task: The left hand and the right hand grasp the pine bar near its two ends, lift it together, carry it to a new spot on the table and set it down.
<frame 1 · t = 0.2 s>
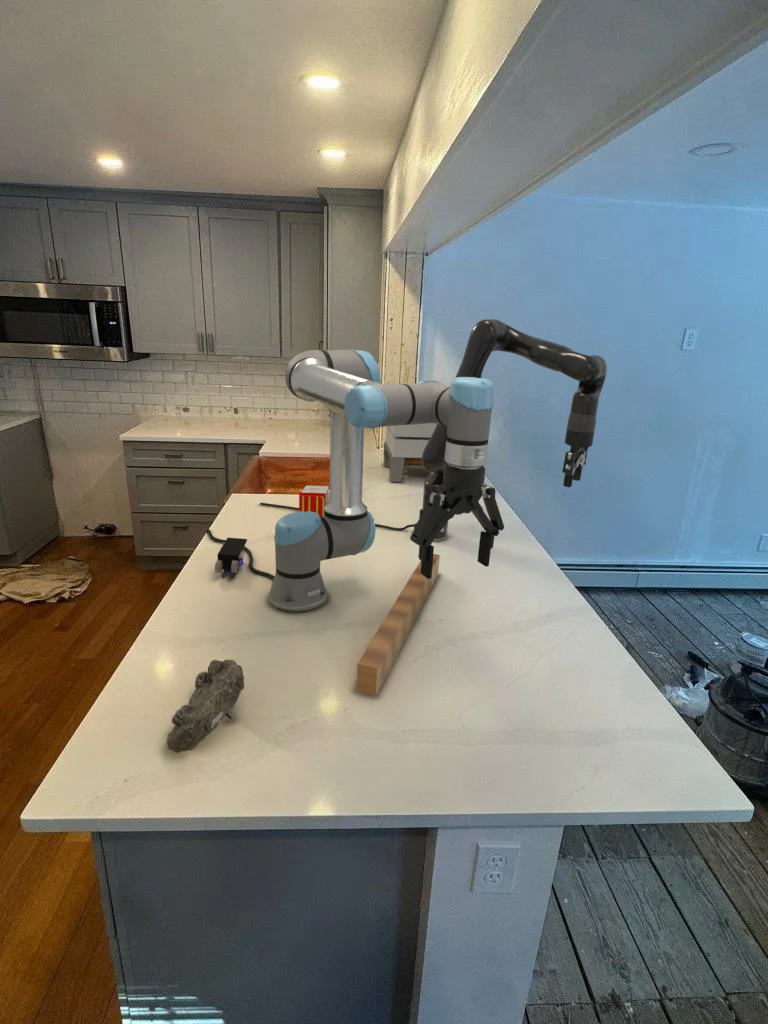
left hand: (455, 569, 111), 27 cm above the counter, tool pointing down, fingers open, 13 cm apart
right hand: (571, 483, 166), 29 cm above the counter, tool pointing down, fingers open, 8 cm apart
fossil: (212, 717, 108), on the counter
figurine: (454, 505, 232), on the counter
grey crate stand: (419, 473, 275), on the counter
bar: (404, 622, 144), on the counter
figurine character: (232, 569, 168), on the counter
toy: (315, 517, 211), on the counter
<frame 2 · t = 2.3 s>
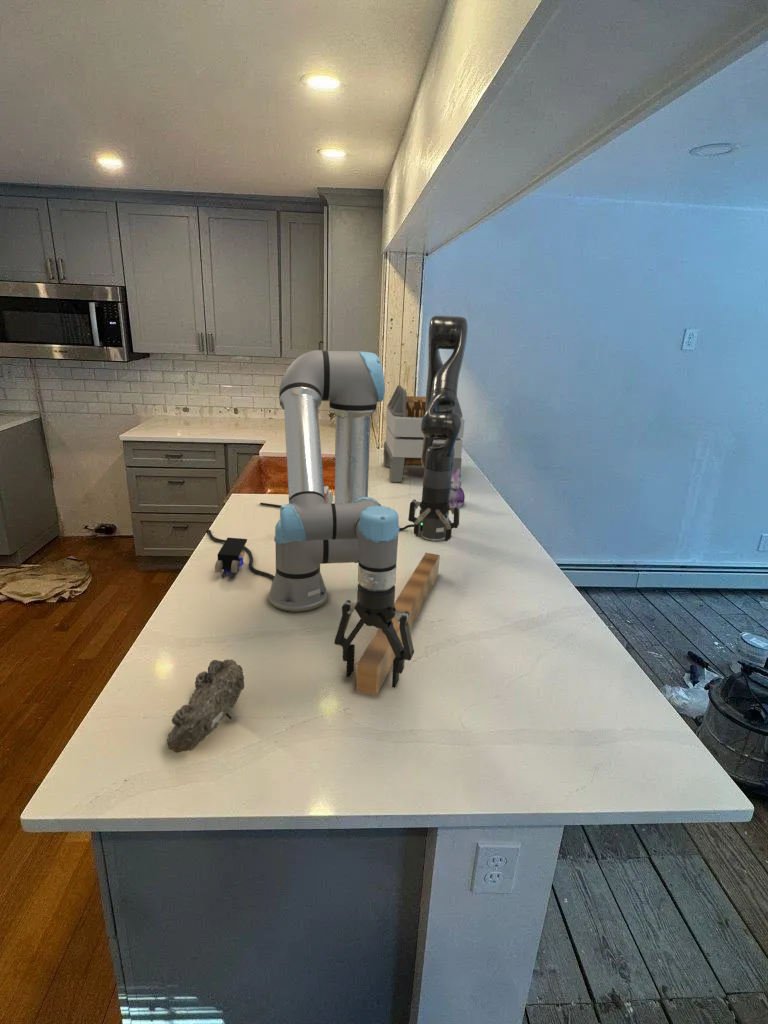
left hand: (372, 678, 120), 1 cm above the counter, tool pointing down, fingers open, 9 cm apart
right hand: (432, 538, 162), 13 cm above the counter, tool pointing down, fingers open, 8 cm apart
nothing on the counter moved.
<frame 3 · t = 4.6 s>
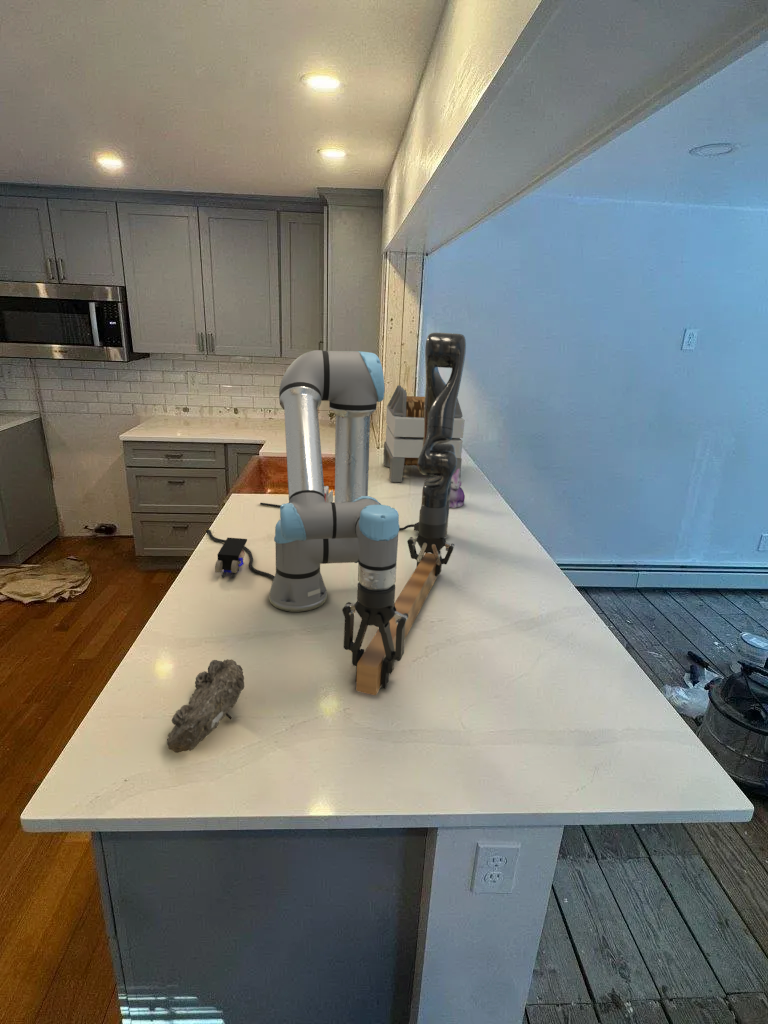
left hand: (372, 681, 120), 0 cm above the counter, tool pointing down, fingers open, 5 cm apart
right hand: (428, 573, 166), 2 cm above the counter, tool pointing down, fingers closed on bar, 4 cm apart
bar: (404, 622, 144), on the counter, touching right hand
everything else where it was.
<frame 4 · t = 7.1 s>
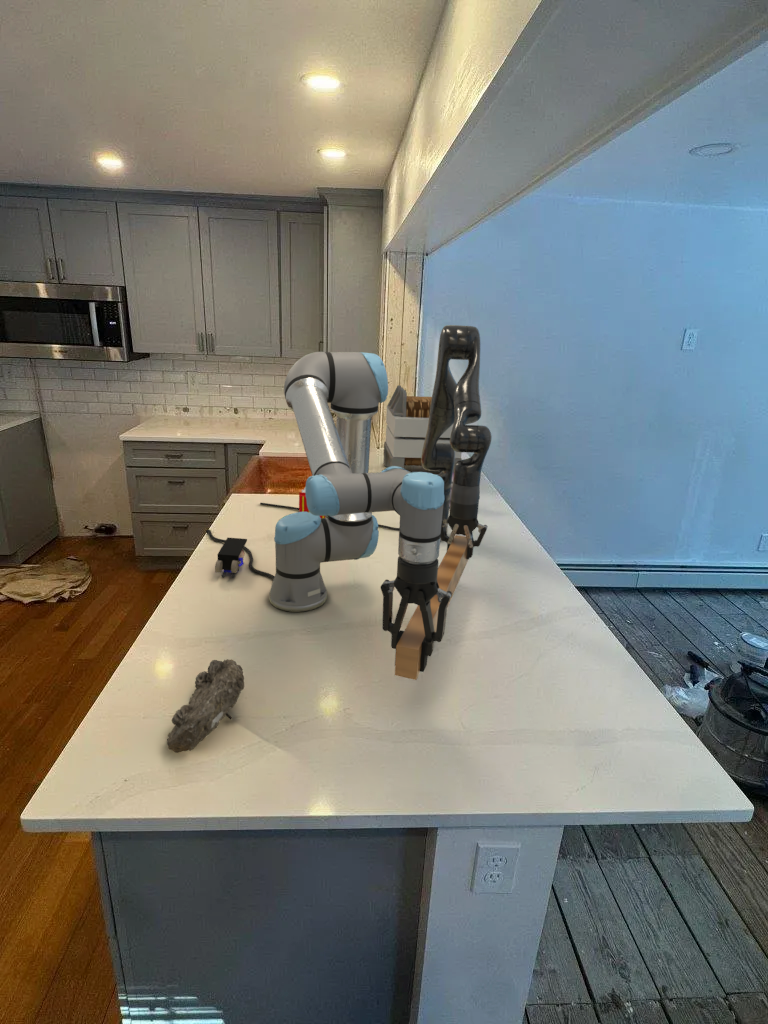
left hand: (410, 664, 112), 9 cm above the counter, tool pointing down, fingers closed on bar, 4 cm apart
right hand: (459, 556, 158), 10 cm above the counter, tool pointing down, fingers closed on bar, 4 cm apart
bar: (438, 605, 135), point 8 cm above the counter, touching right hand, left hand
everything else where it was.
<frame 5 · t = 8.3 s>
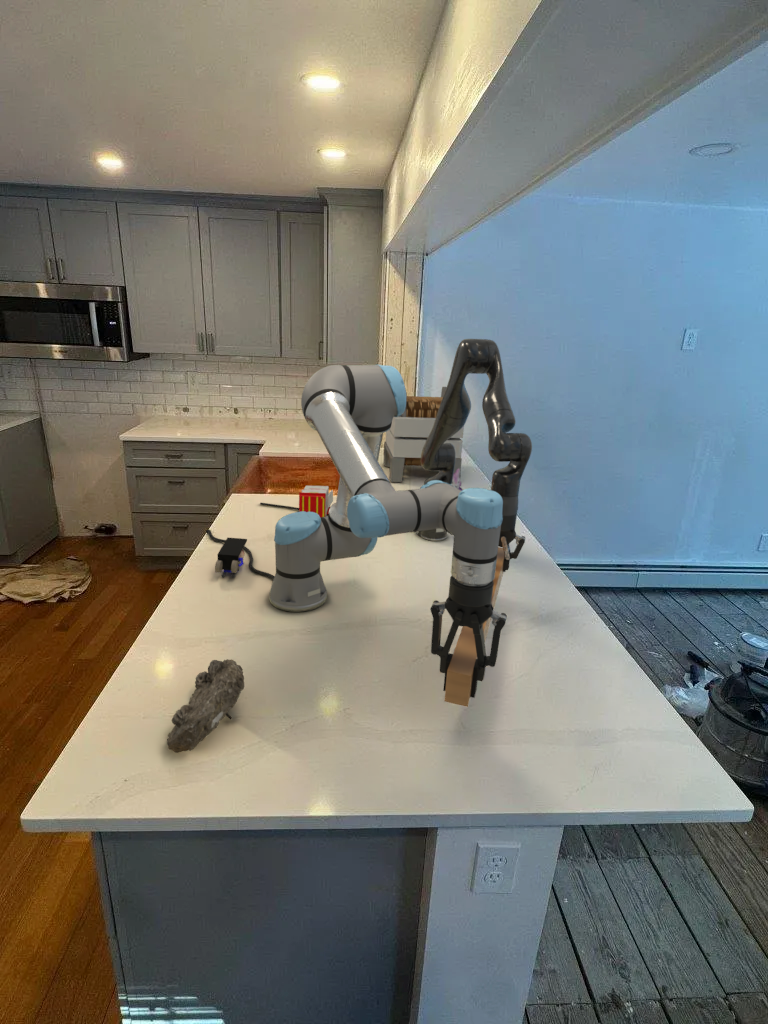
left hand: (459, 689, 106), 8 cm above the counter, tool pointing down, fingers closed on bar, 4 cm apart
right hand: (495, 568, 152), 10 cm above the counter, tool pointing down, fingers closed on bar, 4 cm apart
bar: (480, 622, 129), point 8 cm above the counter, touching right hand, left hand
everything else where it was.
when the left hand's fingers open (2 cm above the counter, at t = 9.3 s): bar drops 1 cm, on the counter.
when the right hand's fingers open (3 cm above the counter, at t = 9.5 s): bar stays where it is, on the counter.
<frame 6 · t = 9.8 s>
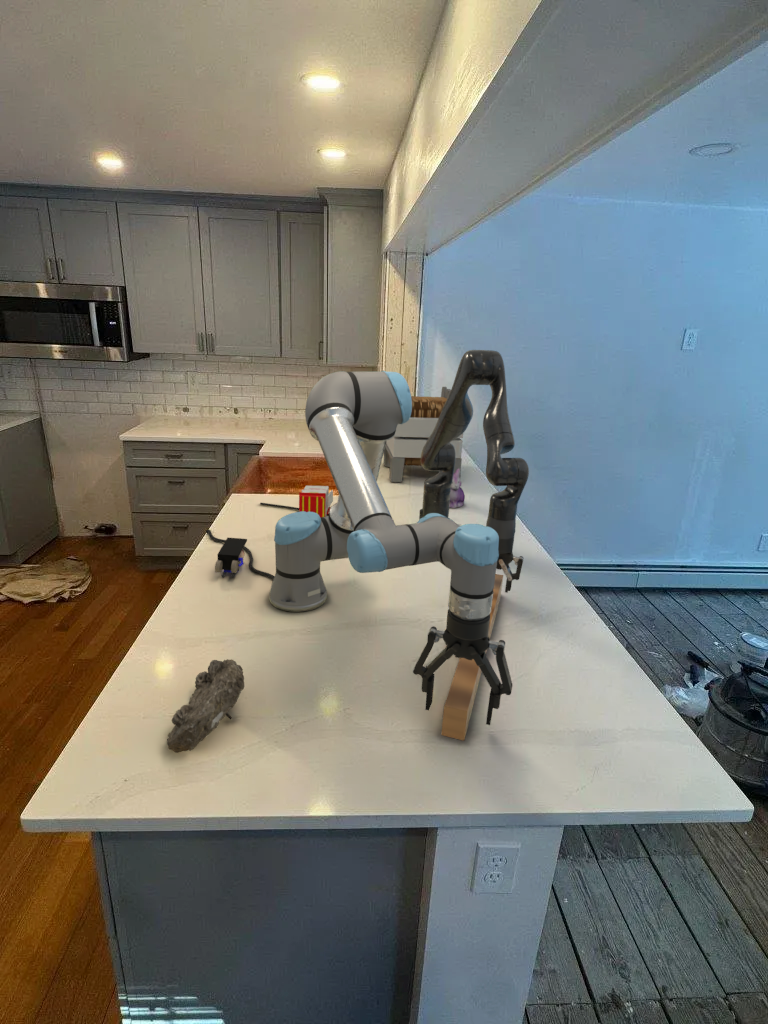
left hand: (458, 712, 108), 3 cm above the counter, tool pointing down, fingers open, 11 cm apart
right hand: (493, 588, 154), 4 cm above the counter, tool pointing down, fingers open, 6 cm apart
bar: (476, 652, 133), on the counter
everything else where it was.
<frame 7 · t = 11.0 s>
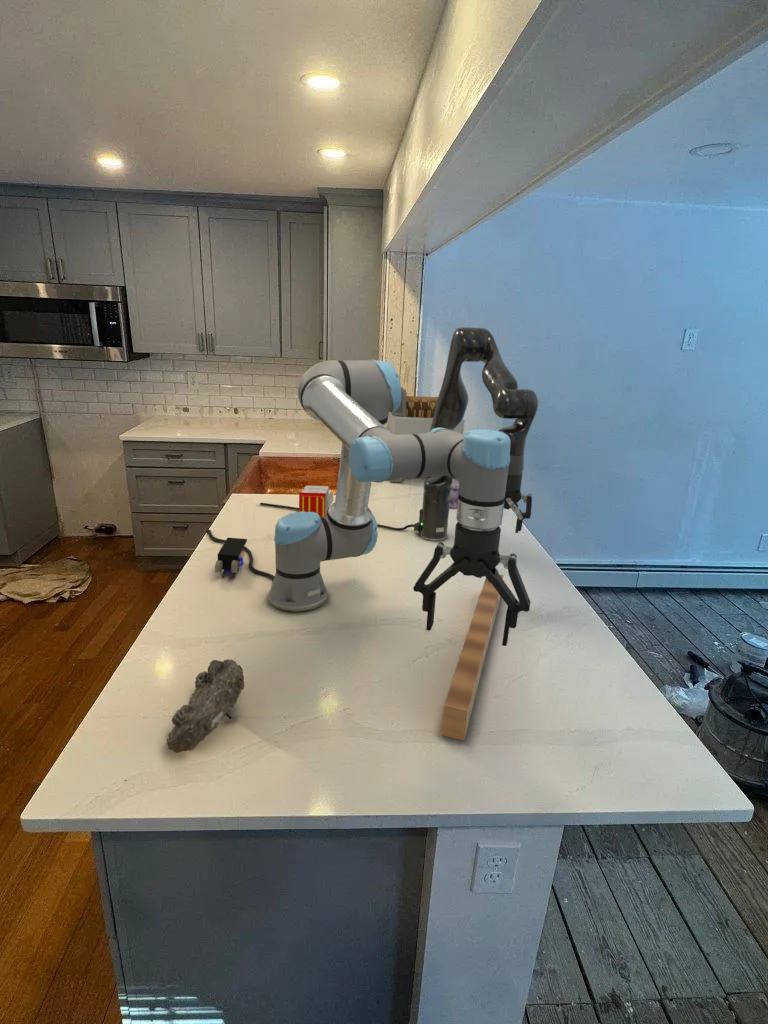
left hand: (466, 634, 102), 20 cm above the counter, tool pointing down, fingers open, 13 cm apart
right hand: (500, 529, 148), 22 cm above the counter, tool pointing down, fingers open, 8 cm apart
nothing on the counter moved.
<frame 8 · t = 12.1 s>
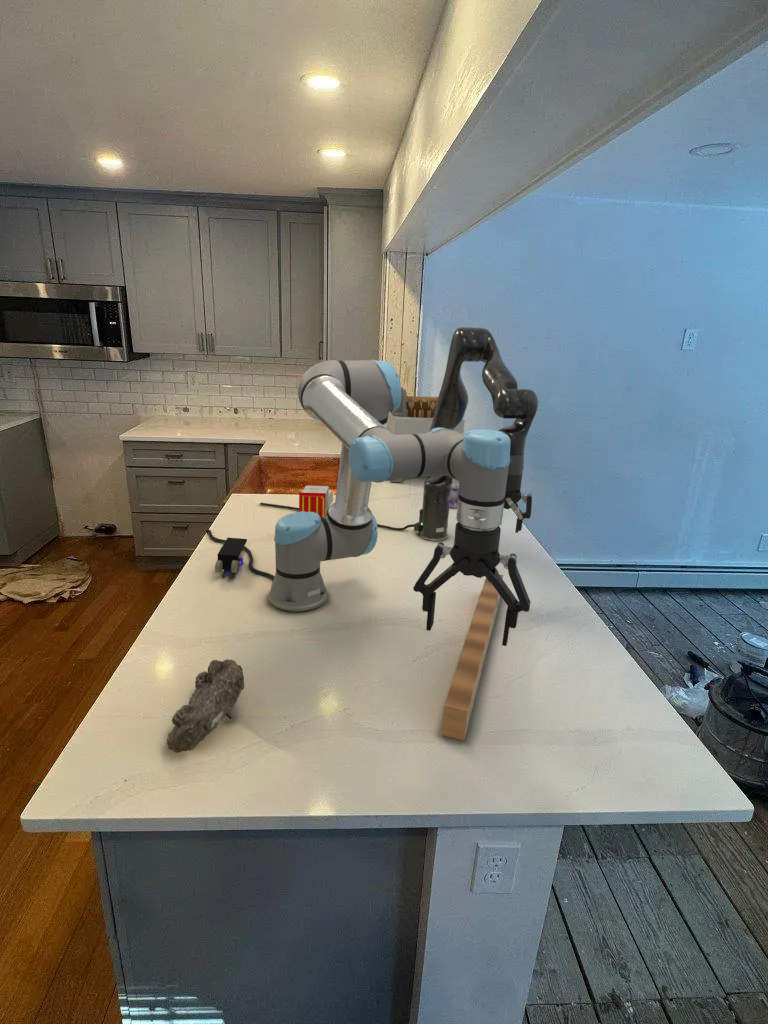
left hand: (466, 634, 102), 20 cm above the counter, tool pointing down, fingers open, 13 cm apart
right hand: (500, 529, 148), 22 cm above the counter, tool pointing down, fingers open, 8 cm apart
nothing on the counter moved.
at the end: bar inside the target area (0.6 cm from its centre), on the counter; bar tilted 0°; bar never tilted more than 2° during the clip; both hands held the bar at the same time; the left hand is holding nothing; the right hand is holding nothing; bar at rest at the end (0.0 cm/s) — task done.
